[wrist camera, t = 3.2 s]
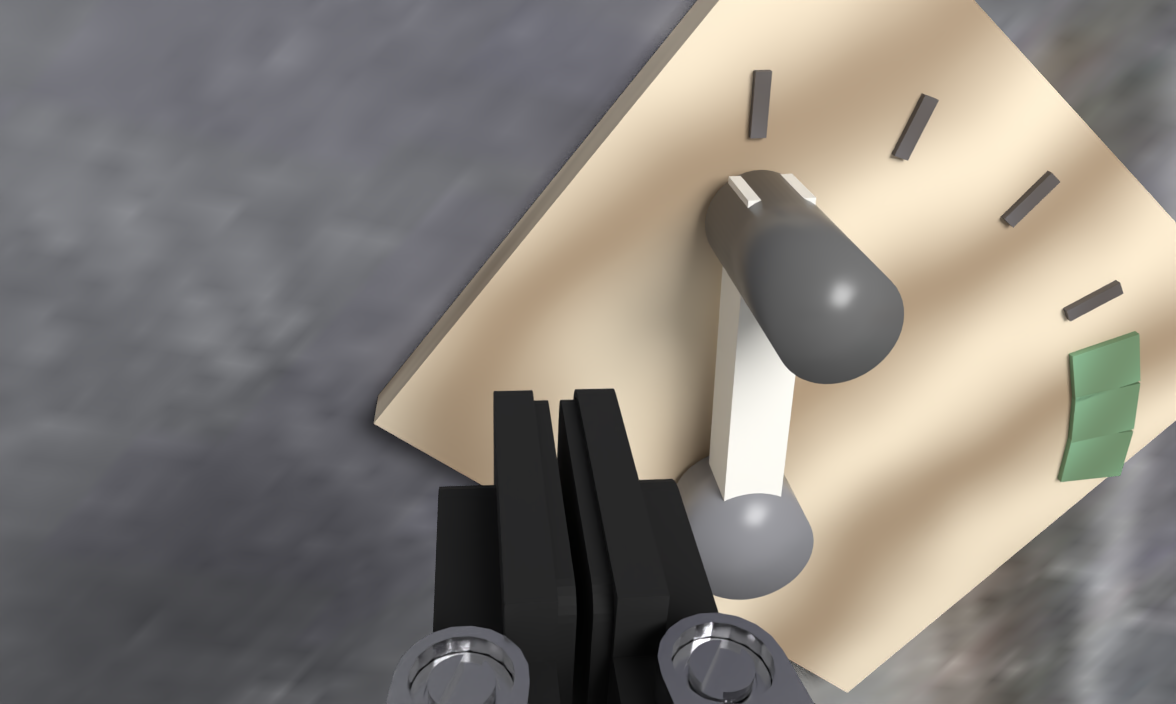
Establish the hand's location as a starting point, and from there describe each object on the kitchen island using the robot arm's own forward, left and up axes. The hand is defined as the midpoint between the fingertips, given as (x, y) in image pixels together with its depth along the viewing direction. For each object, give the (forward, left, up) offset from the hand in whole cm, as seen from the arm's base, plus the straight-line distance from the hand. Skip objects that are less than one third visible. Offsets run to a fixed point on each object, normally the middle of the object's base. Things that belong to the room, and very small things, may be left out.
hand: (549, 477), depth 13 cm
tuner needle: (-8, 0, -11) cm, 14 cm away
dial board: (-11, -2, -13) cm, 17 cm away
